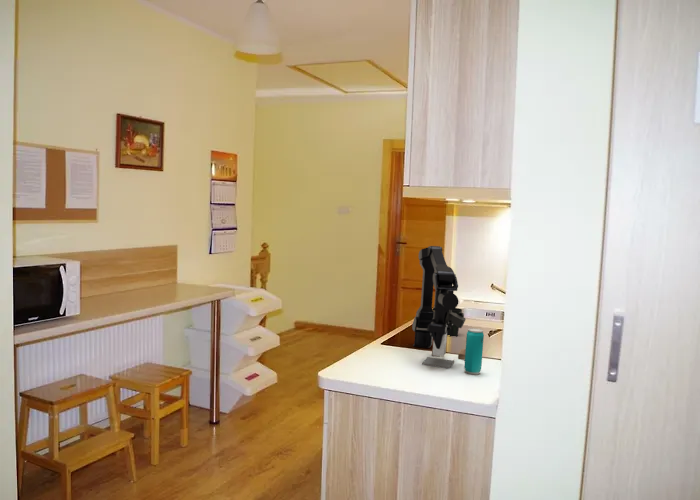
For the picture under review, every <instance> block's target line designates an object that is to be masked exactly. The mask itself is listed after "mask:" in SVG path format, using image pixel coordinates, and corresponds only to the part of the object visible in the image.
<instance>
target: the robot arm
mask: <svg viewBox="0 0 700 500" xmlns="http://www.w3.org/2000/svg"><path fill="white" fill-rule="evenodd" d="M418 260H419V265H420V267H421V269H422V280H421V281H422V282H421V285H422V286H421V298H420V306H419V308H418V309H417V310H416V313H415V316H414V318H413V321H412V325H411V326H412V328H411V329H412V331H413V332H414V344H412V346H413V347H417V348H423V349H429V348H431V346H432V347H433V341H434V343H435V345H436V348H437V349H440V346H441V342H442V338H443V335H444V334H445V333H446V332H447V331H448V330H449V329H450V328H451V327H448V326H447V324H450V325H451V326H452V325H456V326H457V327H458V328H459V329H462V328H463V326H464V324H465V322H466V320H467V318H466V317H465V316H464V315H465V314H464V313H463V312H459V313H458V314H456V313H453V312H452V309H455V308H458V306H459V297H458V296H457V295H456V294H455V293H454V292H455V291H456V292H457V291H458V288H459V283H458V279H457V276H456V274H455V272H454V269H453V268H452V267H450V266H448V264H447V261H446V260H445V257H444V253H443V247H442V246H440V245H429V246H427V247H425V248H421V249H420V250H419V252H418ZM434 290H435V291H434ZM433 296H434V305H433Z"/></svg>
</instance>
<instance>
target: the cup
mask: <svg viewBox="0 0 700 500" xmlns="http://www.w3.org/2000/svg"><path fill="white" fill-rule="evenodd" d="M462 311H463V309H462V308H458V307H456V308H455V309H452V312H453V313H456V314H458V313H459V312H462ZM462 313H463V312H462ZM447 326H448V327H451V328H450V329H449V330H448V331H447V335H450V336H449V337H451V336H456V337H458V335H459V330H460V328H458V327H457V326H456V325H452V326H451V325H450V324H447Z"/></svg>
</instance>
